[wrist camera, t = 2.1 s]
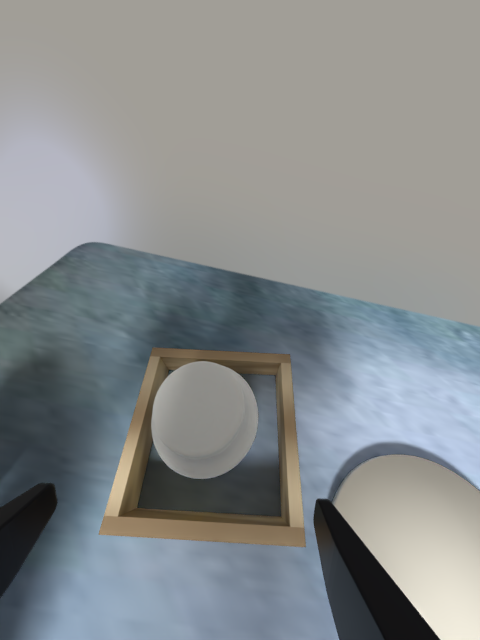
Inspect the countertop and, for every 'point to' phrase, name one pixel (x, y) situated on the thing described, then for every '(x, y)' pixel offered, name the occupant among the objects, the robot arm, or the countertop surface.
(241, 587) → the countertop surface
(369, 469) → the plate
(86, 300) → the countertop surface
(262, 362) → the bin frame
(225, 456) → the supplement bottle
